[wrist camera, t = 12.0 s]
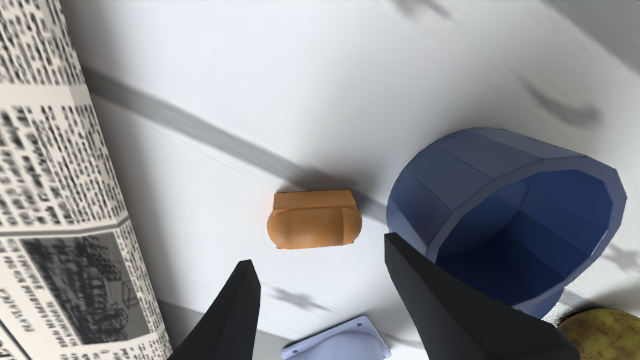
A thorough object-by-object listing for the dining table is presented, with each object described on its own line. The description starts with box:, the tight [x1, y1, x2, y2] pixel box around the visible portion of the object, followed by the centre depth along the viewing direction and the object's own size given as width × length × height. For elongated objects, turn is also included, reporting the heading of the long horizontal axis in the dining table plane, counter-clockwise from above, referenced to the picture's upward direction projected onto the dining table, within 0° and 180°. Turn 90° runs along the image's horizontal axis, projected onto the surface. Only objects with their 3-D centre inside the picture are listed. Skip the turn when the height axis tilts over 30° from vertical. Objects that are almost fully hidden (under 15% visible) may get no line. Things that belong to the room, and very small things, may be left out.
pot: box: [386, 128, 627, 310], centre depth 16 cm, size 11×11×6 cm
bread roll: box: [267, 189, 362, 249], centre depth 16 cm, size 6×3×3 cm, turn 90°
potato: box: [557, 308, 640, 360], centre depth 25 cm, size 8×13×8 cm, turn 69°
